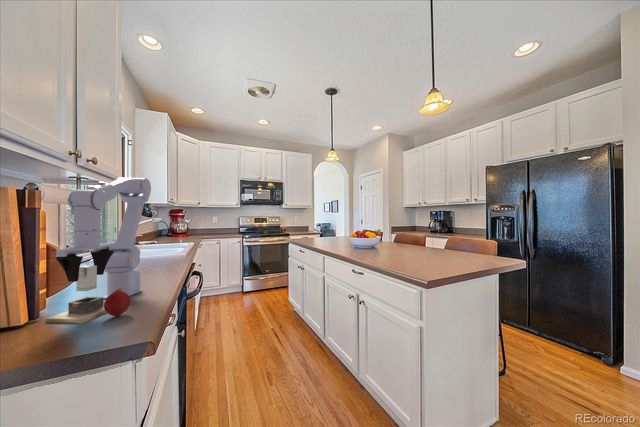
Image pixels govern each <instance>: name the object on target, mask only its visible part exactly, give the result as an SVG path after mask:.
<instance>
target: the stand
mask: <svg viewBox="0 0 640 427" xmlns="http://www.w3.org/2000/svg"><path fill="white" fill-rule="evenodd" d="M104 303H105V302H104V299H103V297H102V296H85V297H82V298H80V299H76V300H73V301H70V302H68V304H67V305H68V310H65V311H63V312H61V313H57V314H54V315H52V316H49V317H47V318H46V319H45V322H46V323H52V324H53V323H60V324H63V323H64V324H83V323H85V322H88V321H90V320H93V319H95V318H97V317H100V316H102V315H104V314H108V313H107V312H106V311H105V309H104Z"/></svg>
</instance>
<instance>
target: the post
mask: <svg viewBox="0 0 640 427" xmlns="http://www.w3.org/2000/svg"><path fill="white" fill-rule="evenodd" d="M97 276H98V275H97V265H94V264H89V265H88V264H87V265H82V266H81V265H80V268H79V278H78V281H76V286H75V287H76V289H75V290H76V292H88V291H91V290H95V289H97V288H98V287H97V286H98V284H97V283H98V282H97V281H98V279H97V278H98V277H97Z"/></svg>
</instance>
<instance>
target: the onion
mask: <svg viewBox="0 0 640 427" xmlns="http://www.w3.org/2000/svg"><path fill="white" fill-rule="evenodd" d="M104 300H105V301H104V302H103V303H104V309H105V311H106V312H107V313H106V314H109V316H113V317H120V316H121V315H123V313H125V312H126V311H127V310H129V308H130V306H131V301H132V300H131V297H130V296H129V295H128V294H127V293H125V292H123V291H121V288H117V289H116V290H115V291H114V292H113V293H112V294H111V295H110V296H109V297H108V298H107V299H104Z"/></svg>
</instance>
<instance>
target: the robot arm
mask: <svg viewBox="0 0 640 427" xmlns="http://www.w3.org/2000/svg"><path fill="white" fill-rule="evenodd" d="M151 191H152V185H151V181H150V180H149V179H148V178H146V177H122V176H120V177H115V180H114V181H112V182H110V183H109V182H106V181H98V182H97V184H95V185H89V186H88V187H86V188H85V189H75V190H73V191H72V192H70V194H69V195H68V197H67V203H68V206H69V207H70V213H71V215H72V216H73V229H72V230H73V232H72V233H73V236H72V238H73V239H72V242H73V243H72V246H69V247H63V248H57V249H55V250H56V251H55V254H56V255H55V256H56V258H55V259H56V261H57V262H58V263H59V265H60V266H61V268H62V269H63V271H64V273H65V275H66V278H67V282H68V283H69V282H71V283H73V282H75V283H77V281H78V278H79V268H80V267H81V264H82V260H83V259H84V256H78V255H81V254H87V253H90V255H91V257H92V258H91V259H92V261H93V265H97V276H102V275H104V273H107V275H106V276H107V277H106V279H107V282H106V283H107V284H106V286H107V287H106V289H107V290H106V294H105V295H102V296H101V297H103V300H106V299H107V298H108V297H109V296H110V295H111V294H112V293H113V292H114V291H115V290H116V289H117V288H121V291H123V292H125V293H127V294H128V295H129V297H130V296H133V295H135V294H138V293H140V292H143V289H141V272H140V270H139V269H138V268H137V267H138V266H139V264H140V262H141V261H140V260H141V249H140V248H139V247H138V246H137V245H136V244H135V239H136V235H137V232H138V228H139V224H140V223H141V222H140V221H141V217H142V215H143V214H142V213H143V210H144V206H145V203H146V202H148V201H149V198H150V195H151V193H152V192H151ZM118 195H119V197H120V199H121V201H122V202H124V203H126V204H127V206H126V208H125V211H124V215H123V218H122V222H121V224H120V229H119V231H118V235H117V238H116V241H115V242H114V243H113V242H112V243H111V242H110V243H109V242H107V243H101V226H102V225H101V223H102V222H101V216H102V214H101V213H102V212H101V210H103V209H104V208H105V206H106V205H107V203H108V202H110V201H112V200H114V199H116V198H117V196H118Z"/></svg>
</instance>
